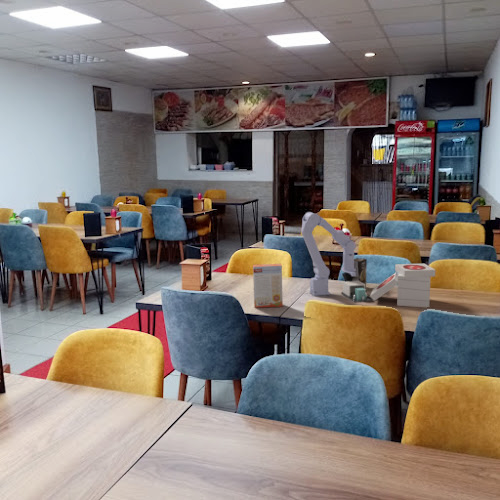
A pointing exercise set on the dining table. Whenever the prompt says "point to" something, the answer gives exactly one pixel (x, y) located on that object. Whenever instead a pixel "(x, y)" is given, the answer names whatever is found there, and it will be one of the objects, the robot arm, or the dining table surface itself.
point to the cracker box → (267, 285)
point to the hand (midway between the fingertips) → (348, 286)
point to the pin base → (352, 298)
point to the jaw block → (360, 293)
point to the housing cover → (352, 286)
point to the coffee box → (360, 270)
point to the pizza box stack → (408, 285)
